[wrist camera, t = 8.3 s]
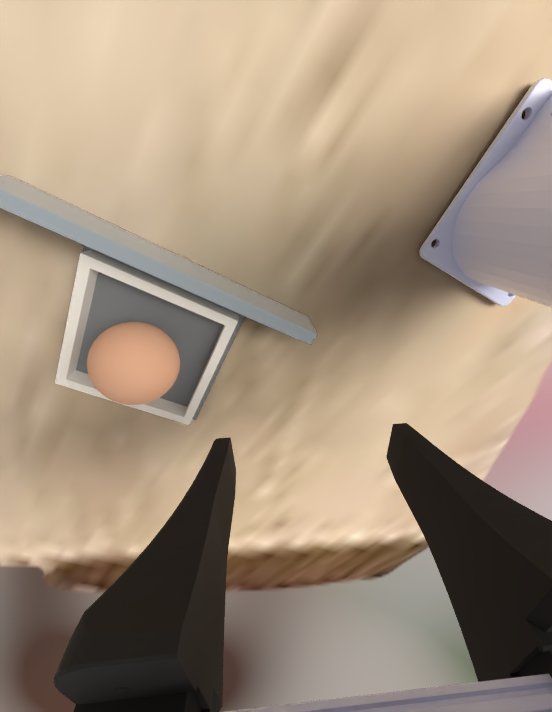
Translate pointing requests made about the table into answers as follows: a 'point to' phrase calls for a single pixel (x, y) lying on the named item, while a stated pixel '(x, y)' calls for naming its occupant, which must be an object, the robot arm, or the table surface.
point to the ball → (133, 363)
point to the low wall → (149, 257)
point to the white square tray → (153, 306)
